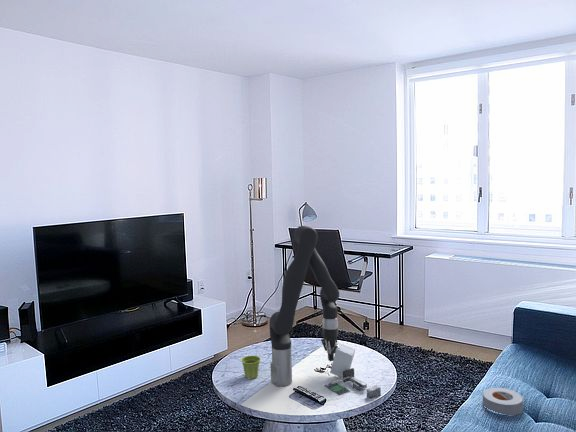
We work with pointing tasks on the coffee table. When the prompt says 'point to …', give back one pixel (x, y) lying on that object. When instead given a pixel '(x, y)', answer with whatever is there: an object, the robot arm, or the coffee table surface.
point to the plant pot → (251, 366)
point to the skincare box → (342, 359)
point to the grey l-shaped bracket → (351, 378)
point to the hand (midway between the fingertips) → (330, 360)
